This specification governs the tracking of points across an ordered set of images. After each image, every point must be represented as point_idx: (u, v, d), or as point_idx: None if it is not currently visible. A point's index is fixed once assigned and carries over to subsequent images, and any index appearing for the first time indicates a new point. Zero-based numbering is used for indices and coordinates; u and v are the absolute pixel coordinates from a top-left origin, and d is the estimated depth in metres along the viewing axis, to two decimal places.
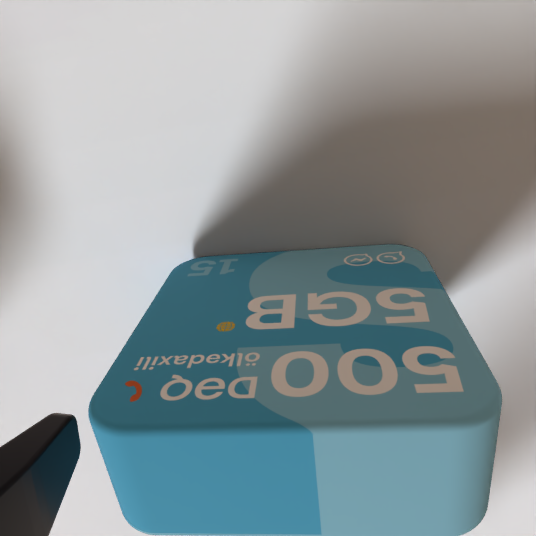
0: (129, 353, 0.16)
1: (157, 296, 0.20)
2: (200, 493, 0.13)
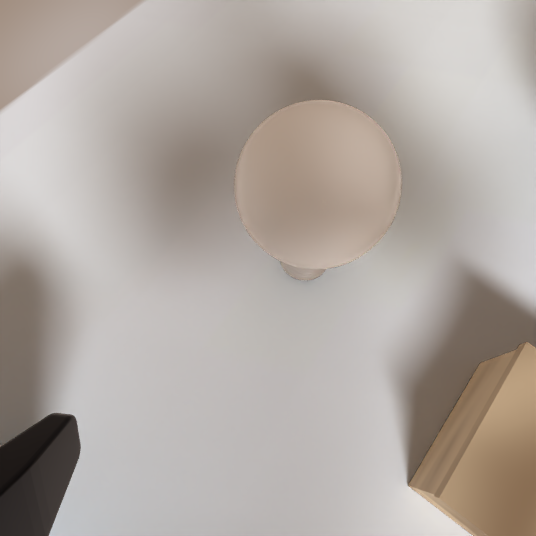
0: None
1: None
2: None
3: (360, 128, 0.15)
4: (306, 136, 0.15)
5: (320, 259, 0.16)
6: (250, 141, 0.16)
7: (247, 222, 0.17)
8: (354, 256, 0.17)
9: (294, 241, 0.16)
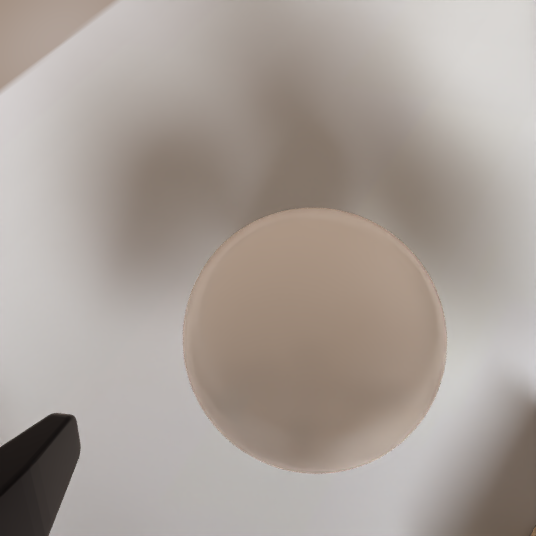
0: None
1: None
2: None
3: (384, 278, 0.09)
4: (291, 298, 0.09)
5: (317, 473, 0.10)
6: (203, 282, 0.10)
7: (201, 406, 0.10)
8: None
9: (274, 458, 0.09)
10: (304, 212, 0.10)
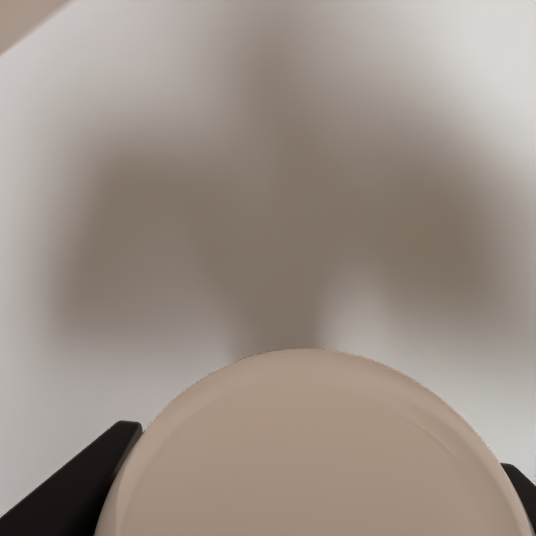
0: None
1: None
2: None
3: None
4: None
5: None
6: (111, 524, 0.05)
7: None
8: None
9: None
10: (296, 390, 0.06)
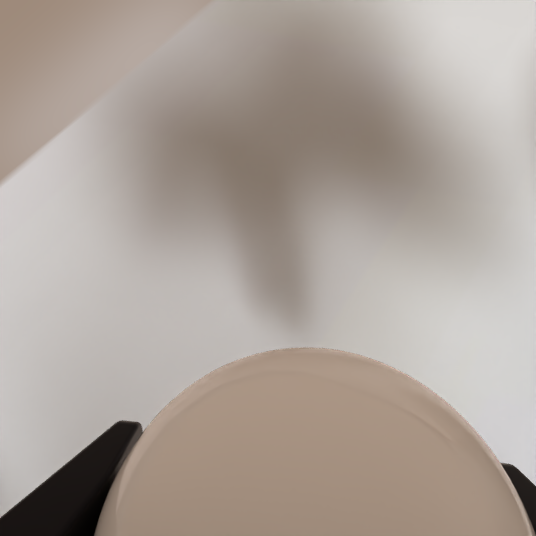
0: None
1: None
2: None
3: None
4: None
5: None
6: (112, 523, 0.05)
7: None
8: None
9: None
10: (296, 389, 0.06)
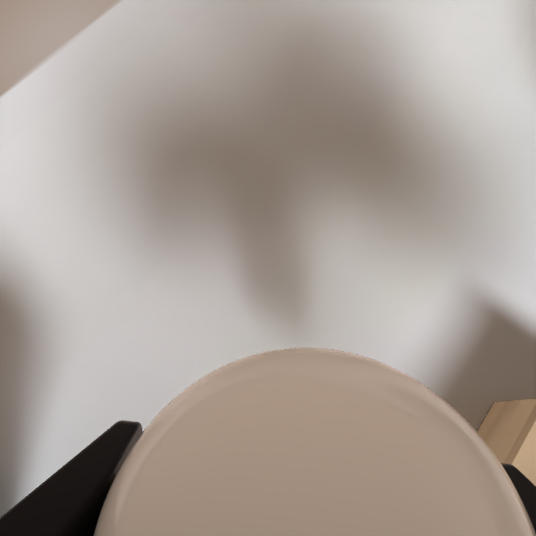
0: None
1: None
2: None
3: None
4: None
5: None
6: (111, 524, 0.05)
7: None
8: None
9: None
10: (296, 389, 0.06)
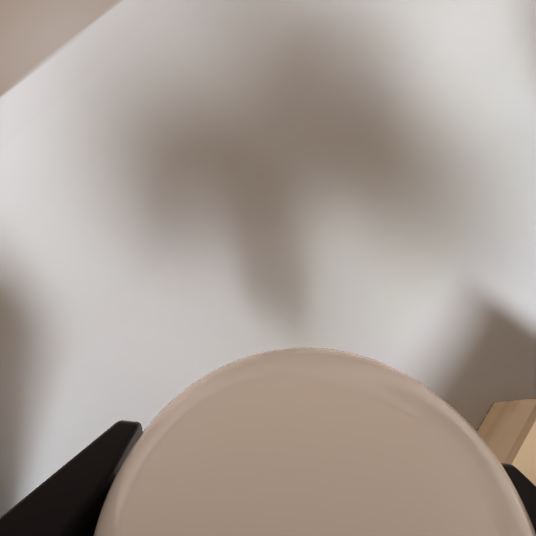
0: None
1: None
2: None
3: None
4: None
5: None
6: (111, 524, 0.05)
7: None
8: None
9: None
10: (296, 389, 0.06)
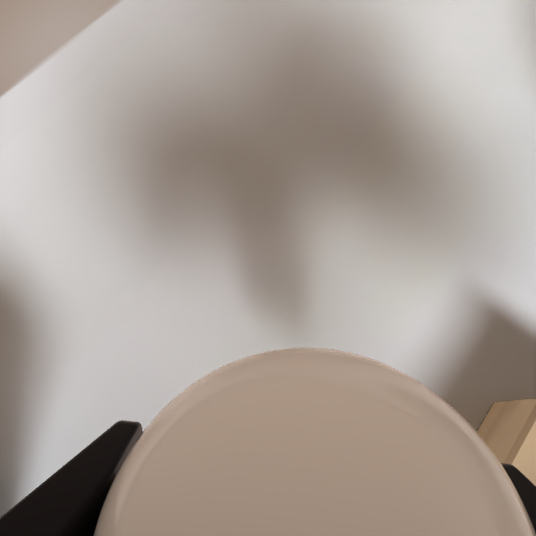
0: None
1: None
2: None
3: None
4: None
5: None
6: (111, 524, 0.05)
7: None
8: None
9: None
10: (296, 389, 0.06)
